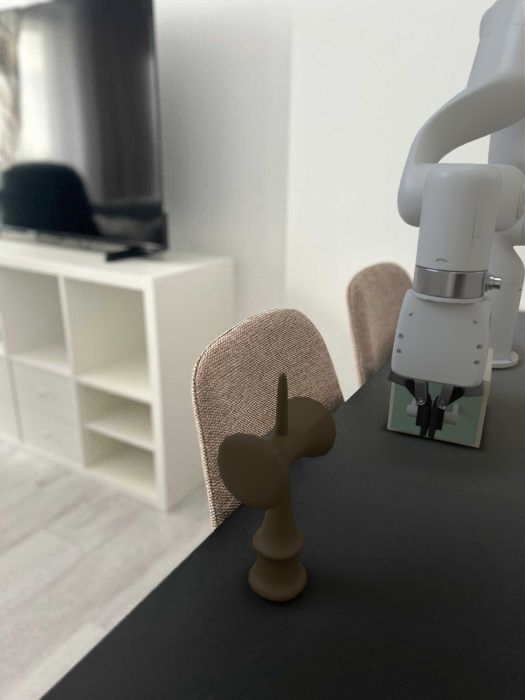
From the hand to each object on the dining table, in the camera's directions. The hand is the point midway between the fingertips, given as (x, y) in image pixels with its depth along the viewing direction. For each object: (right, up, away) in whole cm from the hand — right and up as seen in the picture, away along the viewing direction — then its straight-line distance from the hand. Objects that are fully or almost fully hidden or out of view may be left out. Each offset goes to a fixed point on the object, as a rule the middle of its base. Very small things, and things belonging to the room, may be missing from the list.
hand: (428, 432), depth 62 cm
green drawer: (+4, 0, +10) cm, 11 cm away
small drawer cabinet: (+6, 0, +14) cm, 15 cm away
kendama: (-19, -11, -17) cm, 27 cm away
